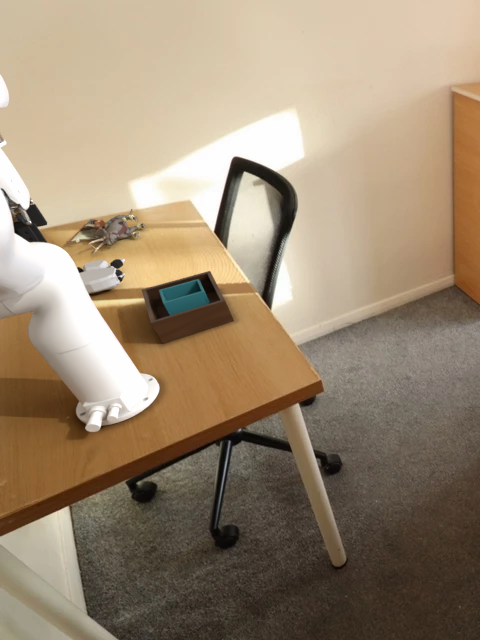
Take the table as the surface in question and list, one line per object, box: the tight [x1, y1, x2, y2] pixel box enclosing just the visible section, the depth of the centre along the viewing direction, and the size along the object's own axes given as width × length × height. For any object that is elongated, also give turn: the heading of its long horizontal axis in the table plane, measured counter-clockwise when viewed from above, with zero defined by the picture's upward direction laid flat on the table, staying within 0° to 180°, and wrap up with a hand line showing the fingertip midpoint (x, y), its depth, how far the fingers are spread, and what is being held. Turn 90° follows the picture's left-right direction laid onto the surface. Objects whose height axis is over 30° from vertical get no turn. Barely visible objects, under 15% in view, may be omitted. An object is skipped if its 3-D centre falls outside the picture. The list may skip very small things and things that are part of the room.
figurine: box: [67, 208, 146, 254], centre depth 134 cm, size 20×6×17 cm
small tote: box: [159, 279, 210, 315], centre depth 106 cm, size 8×6×6 cm
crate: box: [141, 270, 235, 345], centre depth 106 cm, size 16×14×6 cm
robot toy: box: [76, 258, 126, 295], centre depth 116 cm, size 12×4×15 cm
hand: (37, 236), depth 86 cm, fingers open, 9 cm apart
